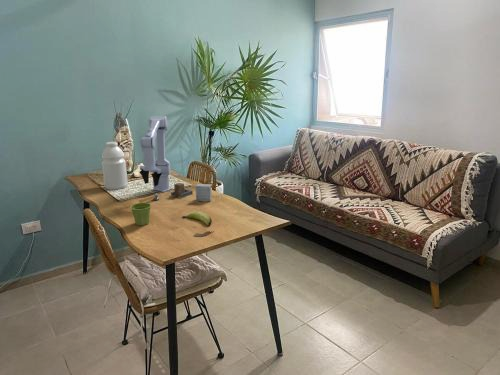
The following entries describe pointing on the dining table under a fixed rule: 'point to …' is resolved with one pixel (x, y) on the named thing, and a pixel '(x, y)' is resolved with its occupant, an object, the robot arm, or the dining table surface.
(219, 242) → the dining table surface
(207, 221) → the green banana
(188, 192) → the cradle
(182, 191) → the plug
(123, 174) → the bottle
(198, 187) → the medicine box
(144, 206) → the plant pot
